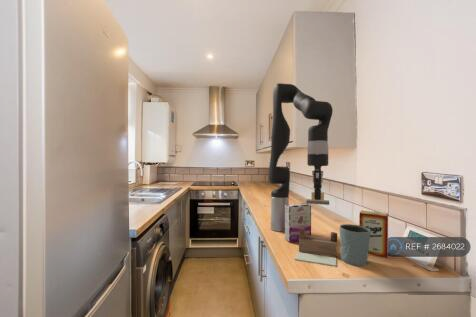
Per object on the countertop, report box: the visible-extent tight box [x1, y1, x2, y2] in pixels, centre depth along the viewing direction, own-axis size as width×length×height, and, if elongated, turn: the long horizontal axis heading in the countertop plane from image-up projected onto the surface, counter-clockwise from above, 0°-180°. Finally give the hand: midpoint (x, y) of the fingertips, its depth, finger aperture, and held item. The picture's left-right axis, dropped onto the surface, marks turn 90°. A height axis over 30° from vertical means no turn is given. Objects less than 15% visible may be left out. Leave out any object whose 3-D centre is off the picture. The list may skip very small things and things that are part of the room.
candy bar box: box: [284, 202, 312, 243], centre depth 107 cm, size 11×5×16 cm, turn 105°
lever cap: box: [305, 191, 330, 206], centre depth 88 cm, size 4×8×4 cm, turn 70°
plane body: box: [298, 225, 338, 258], centre depth 94 cm, size 6×14×9 cm, turn 69°
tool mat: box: [294, 251, 337, 267], centre depth 86 cm, size 7×14×1 cm, turn 69°
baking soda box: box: [358, 210, 389, 258], centre depth 94 cm, size 10×6×16 cm
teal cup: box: [339, 224, 371, 267], centre depth 85 cm, size 10×10×12 cm
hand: (317, 198), depth 88 cm, fingers closed on lever cap, 3 cm apart
